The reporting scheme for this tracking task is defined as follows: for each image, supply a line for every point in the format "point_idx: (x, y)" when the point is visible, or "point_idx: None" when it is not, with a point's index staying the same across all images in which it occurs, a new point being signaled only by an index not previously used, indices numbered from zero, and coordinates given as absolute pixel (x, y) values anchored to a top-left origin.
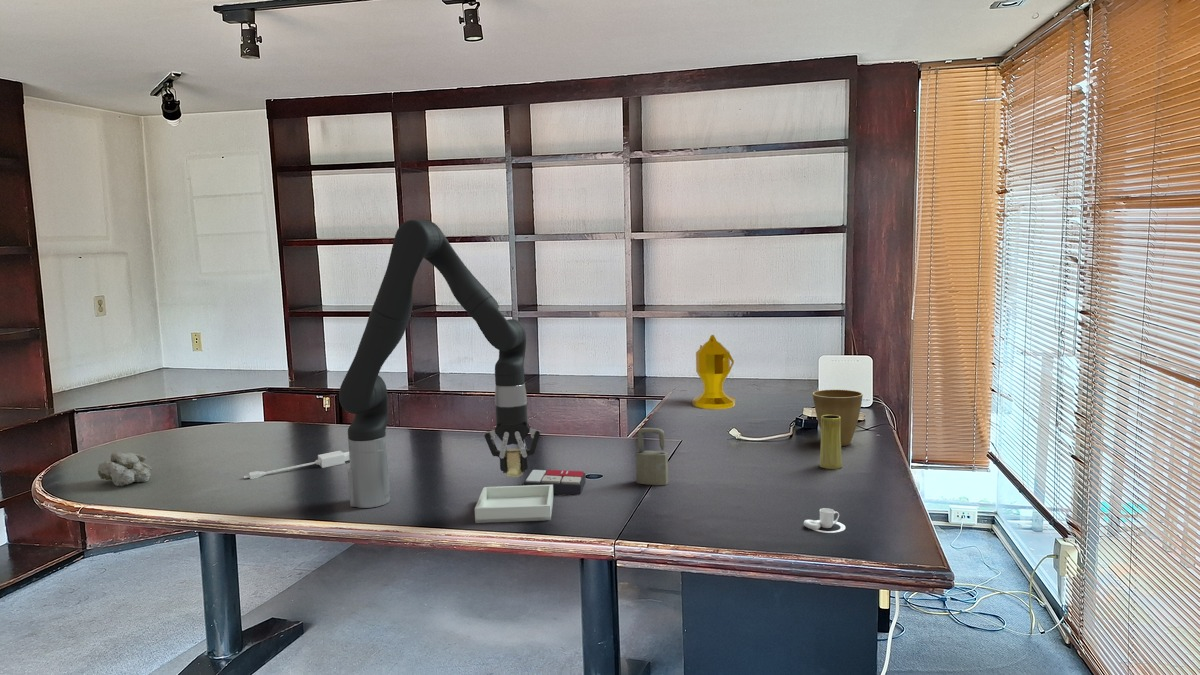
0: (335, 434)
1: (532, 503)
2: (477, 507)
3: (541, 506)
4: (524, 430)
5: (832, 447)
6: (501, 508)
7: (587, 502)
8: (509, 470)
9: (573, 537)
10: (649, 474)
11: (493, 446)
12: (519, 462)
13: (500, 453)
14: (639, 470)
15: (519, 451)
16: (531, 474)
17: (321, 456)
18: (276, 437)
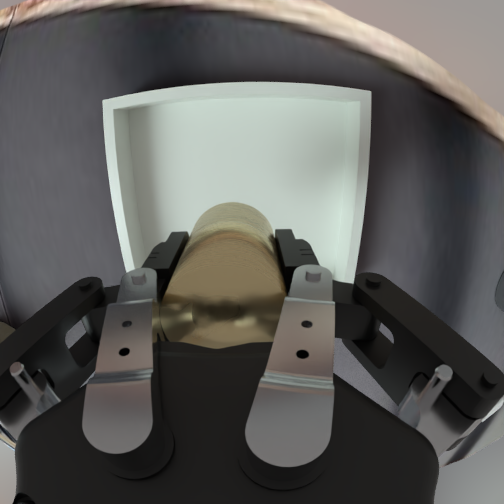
0: (449, 455)
1: (189, 225)
2: (363, 101)
3: (129, 95)
4: (50, 444)
5: None
6: (275, 82)
7: (63, 245)
8: (254, 218)
9: (74, 4)
10: (2, 339)
11: (400, 318)
12: (186, 246)
13: (327, 284)
14: None
15: (168, 298)
16: None
17: (501, 404)
18: (486, 436)
